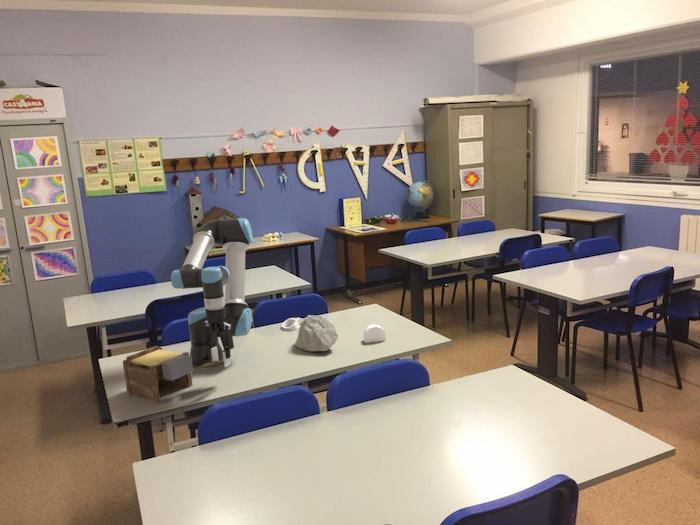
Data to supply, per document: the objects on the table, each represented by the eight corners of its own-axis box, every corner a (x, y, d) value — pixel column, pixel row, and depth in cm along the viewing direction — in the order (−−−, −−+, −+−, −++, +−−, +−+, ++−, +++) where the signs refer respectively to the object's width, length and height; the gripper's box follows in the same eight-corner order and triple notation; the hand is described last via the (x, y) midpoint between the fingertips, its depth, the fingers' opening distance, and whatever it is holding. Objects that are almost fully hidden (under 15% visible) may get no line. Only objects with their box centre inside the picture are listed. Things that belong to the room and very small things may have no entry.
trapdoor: (160, 362, 229) (158, 347, 228) (196, 370, 218) (194, 355, 217) (133, 373, 218) (130, 358, 217) (169, 382, 207) (167, 366, 206)
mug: (296, 344, 285) (288, 329, 281) (286, 341, 291) (278, 326, 287) (312, 329, 292) (305, 314, 287) (302, 326, 298) (294, 312, 294)
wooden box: (163, 379, 234) (159, 344, 231) (192, 386, 224) (188, 350, 222) (127, 395, 220) (122, 358, 217) (156, 403, 210) (151, 365, 208)
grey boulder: (344, 349, 256) (341, 317, 253) (325, 359, 246) (323, 325, 243) (306, 342, 269) (303, 311, 267) (287, 350, 259) (284, 319, 256)
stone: (202, 370, 216) (201, 365, 216) (197, 371, 220) (196, 366, 220) (233, 362, 224) (231, 356, 224) (227, 363, 228) (226, 357, 228)
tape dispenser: (381, 341, 273) (380, 319, 271) (389, 353, 255) (388, 330, 253) (361, 343, 271) (360, 321, 269) (368, 355, 254) (367, 332, 252)
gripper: (190, 307, 221) (197, 364, 225) (225, 312, 211) (232, 371, 215) (205, 302, 227) (211, 358, 232) (239, 307, 217) (245, 364, 222)
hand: (221, 364), depth 223 cm, fingers closed on stone, 6 cm apart
